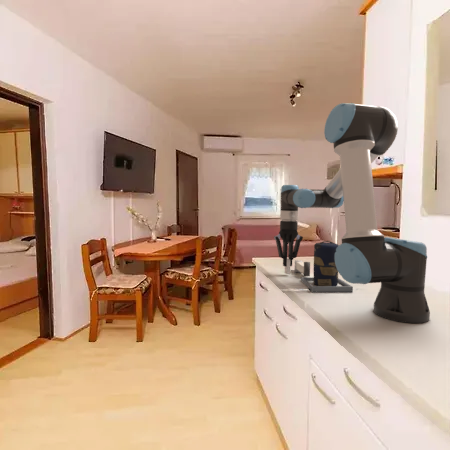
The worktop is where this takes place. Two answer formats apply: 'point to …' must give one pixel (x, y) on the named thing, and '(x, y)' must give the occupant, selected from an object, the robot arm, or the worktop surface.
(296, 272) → the crank base
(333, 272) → the canister
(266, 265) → the worktop surface
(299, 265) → the crank
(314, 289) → the tray
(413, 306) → the robot arm
